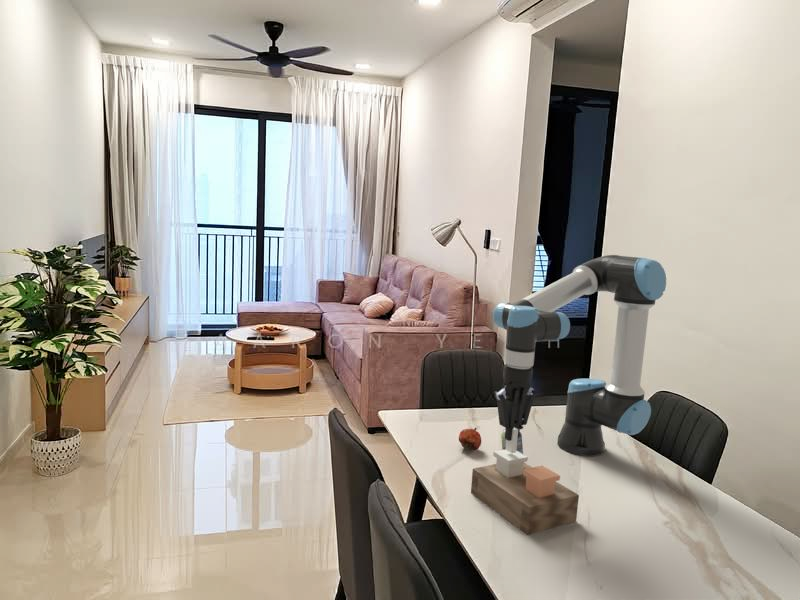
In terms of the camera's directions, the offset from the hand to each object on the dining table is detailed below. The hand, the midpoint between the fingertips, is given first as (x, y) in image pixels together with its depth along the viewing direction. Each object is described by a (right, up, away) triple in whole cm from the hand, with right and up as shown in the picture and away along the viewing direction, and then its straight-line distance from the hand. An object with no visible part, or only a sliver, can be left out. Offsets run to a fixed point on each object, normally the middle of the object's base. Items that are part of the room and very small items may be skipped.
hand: (510, 450), depth 161 cm
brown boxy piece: (+2, -14, -3) cm, 14 cm away
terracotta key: (+5, -11, -9) cm, 15 cm away
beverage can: (+4, -10, +20) cm, 23 cm away
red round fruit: (-7, -8, +32) cm, 34 cm away
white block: (0, -9, +1) cm, 9 cm away
